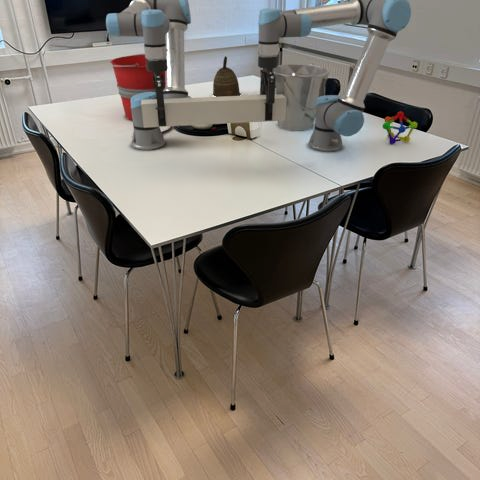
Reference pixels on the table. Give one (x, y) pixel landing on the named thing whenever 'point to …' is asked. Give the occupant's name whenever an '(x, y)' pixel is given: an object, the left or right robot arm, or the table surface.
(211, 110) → the beam
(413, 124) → the educational toy
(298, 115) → the bucket
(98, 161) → the table surface
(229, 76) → the bell
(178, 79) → the left robot arm
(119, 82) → the bucket
